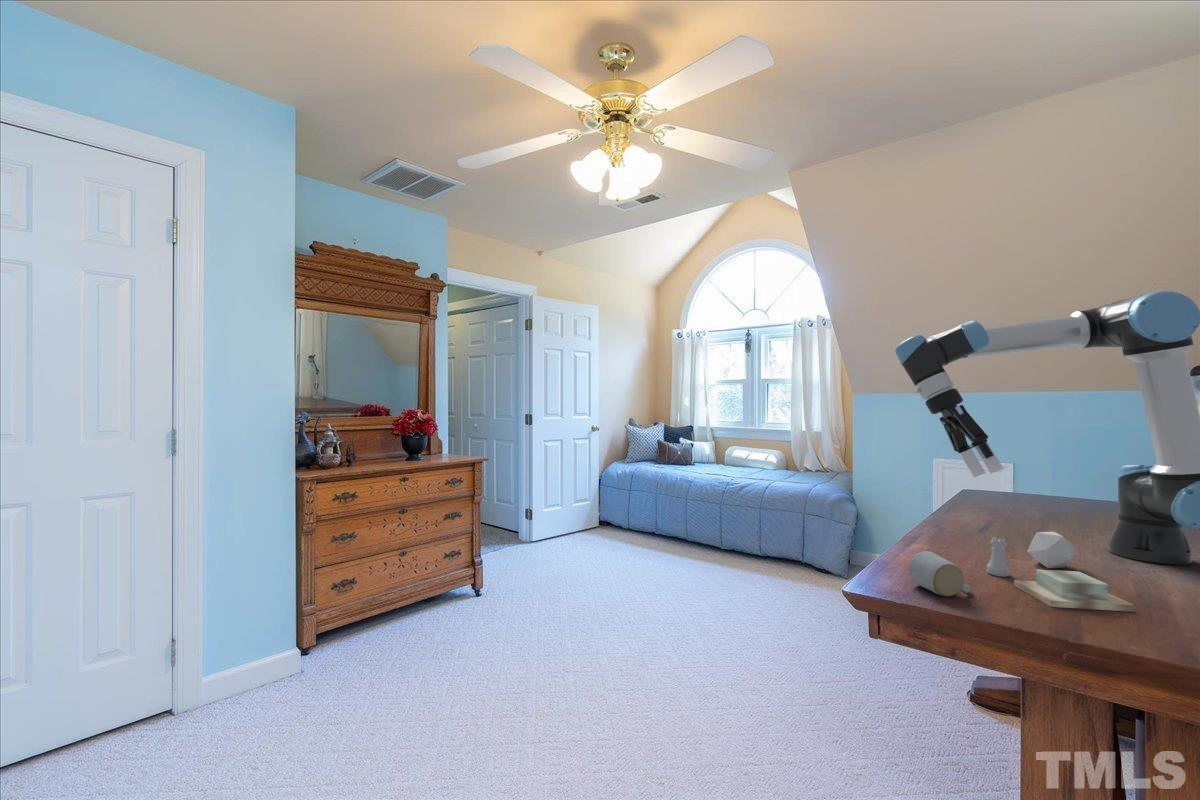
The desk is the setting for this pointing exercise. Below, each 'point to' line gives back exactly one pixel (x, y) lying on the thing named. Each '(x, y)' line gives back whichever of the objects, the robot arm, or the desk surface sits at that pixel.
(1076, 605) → the plinth
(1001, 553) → the rook chess piece
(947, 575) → the ceramic mug
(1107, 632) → the desk surface
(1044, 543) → the die
